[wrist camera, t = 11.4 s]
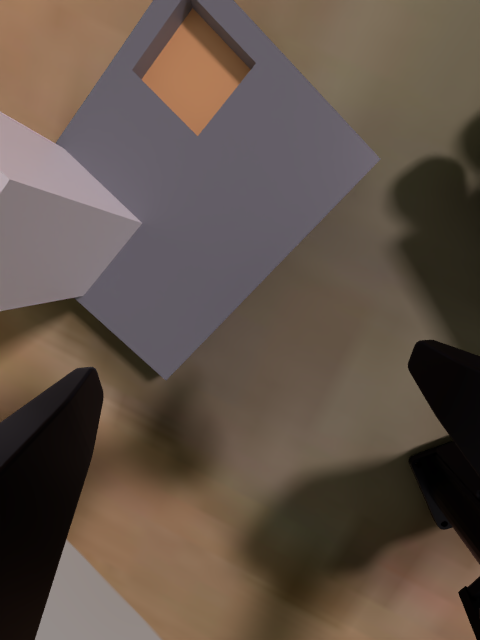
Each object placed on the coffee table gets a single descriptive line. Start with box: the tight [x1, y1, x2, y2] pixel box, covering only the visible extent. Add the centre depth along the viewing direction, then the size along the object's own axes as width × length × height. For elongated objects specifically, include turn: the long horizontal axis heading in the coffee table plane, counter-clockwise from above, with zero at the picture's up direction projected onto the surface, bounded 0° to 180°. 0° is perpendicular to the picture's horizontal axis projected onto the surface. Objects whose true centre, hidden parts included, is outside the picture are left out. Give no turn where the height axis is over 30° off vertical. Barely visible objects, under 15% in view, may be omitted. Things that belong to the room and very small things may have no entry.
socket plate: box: [55, 0, 380, 380], centre depth 18 cm, size 14×18×2 cm
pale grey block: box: [0, 112, 142, 311], centre depth 14 cm, size 6×6×11 cm
